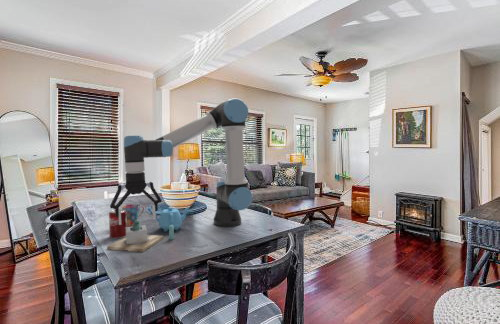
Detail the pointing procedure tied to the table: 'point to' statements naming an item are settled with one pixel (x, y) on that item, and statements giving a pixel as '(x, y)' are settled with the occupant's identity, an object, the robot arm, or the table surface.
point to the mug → (132, 213)
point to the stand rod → (171, 232)
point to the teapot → (170, 218)
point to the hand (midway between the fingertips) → (137, 221)
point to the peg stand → (135, 246)
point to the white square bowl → (136, 235)
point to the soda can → (117, 224)
